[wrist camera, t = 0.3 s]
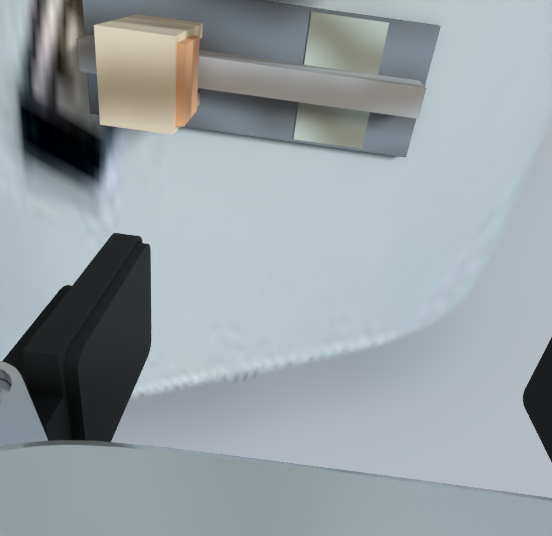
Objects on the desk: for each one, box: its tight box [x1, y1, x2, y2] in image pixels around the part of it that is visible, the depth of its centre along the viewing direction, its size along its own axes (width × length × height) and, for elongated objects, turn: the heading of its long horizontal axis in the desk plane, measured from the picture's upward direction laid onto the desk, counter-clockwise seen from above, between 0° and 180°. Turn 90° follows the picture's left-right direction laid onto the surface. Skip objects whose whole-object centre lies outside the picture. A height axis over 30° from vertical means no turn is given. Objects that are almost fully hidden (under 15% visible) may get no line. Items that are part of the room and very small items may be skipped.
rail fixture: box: [77, 0, 440, 157], centre depth 32 cm, size 9×24×9 cm, turn 83°
